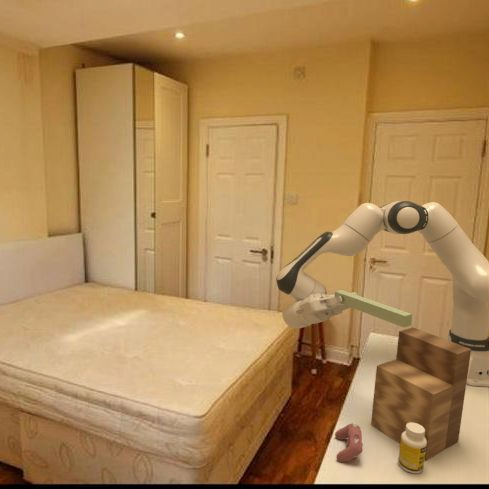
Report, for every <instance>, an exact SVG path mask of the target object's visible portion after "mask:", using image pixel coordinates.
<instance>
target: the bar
mask: <svg viewBox="0 0 489 489" xmlns="http://www.w3.org/2000/svg"><path fill="white" fill-rule="evenodd" d="M334 294H335V297H338V296H343V297H344V302H341V304H343V305H346V306H349V307H350V308H352V309H354V310H357V311H359V312H362V313H365V314H368V315H370V316H372V317H375V318H378V319H381V320H383V321H385V322H388V323H392V324H394V325H395V326H399V327H402V328H407V327H410V326H412V323H413V322H412V320H413V314H412V313H411V312H408V311H404V310H401V309H399V308H395V307H393V306H390V305H387V304H384V303H381V302H379V301H375V300H372V299H370V298H366V297H363V296H360V295H359V294H357V295H355V294H352V292H349V291H346V290H343V289H342V290H341V289H340V290H335V291H334ZM335 297H334V298H335Z"/></svg>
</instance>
